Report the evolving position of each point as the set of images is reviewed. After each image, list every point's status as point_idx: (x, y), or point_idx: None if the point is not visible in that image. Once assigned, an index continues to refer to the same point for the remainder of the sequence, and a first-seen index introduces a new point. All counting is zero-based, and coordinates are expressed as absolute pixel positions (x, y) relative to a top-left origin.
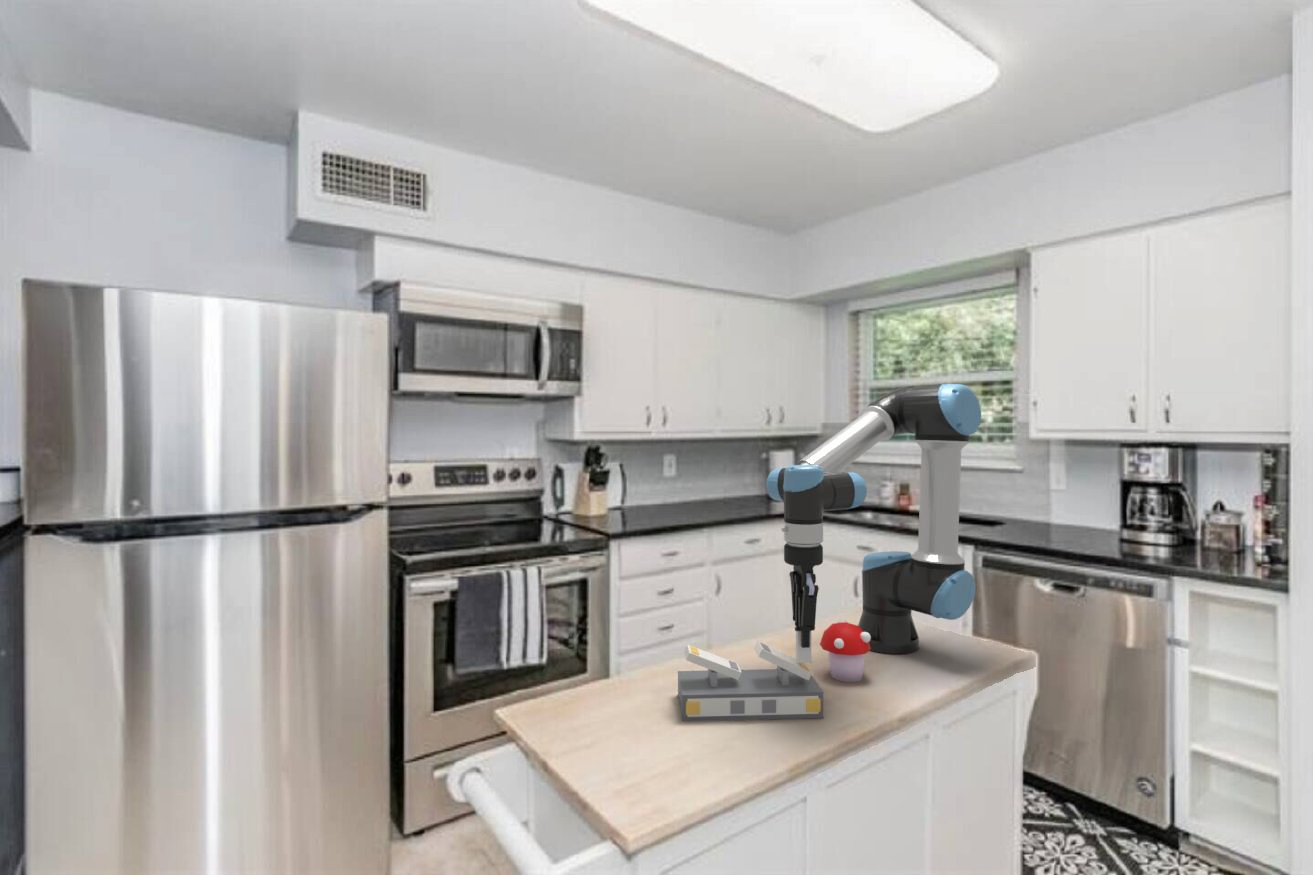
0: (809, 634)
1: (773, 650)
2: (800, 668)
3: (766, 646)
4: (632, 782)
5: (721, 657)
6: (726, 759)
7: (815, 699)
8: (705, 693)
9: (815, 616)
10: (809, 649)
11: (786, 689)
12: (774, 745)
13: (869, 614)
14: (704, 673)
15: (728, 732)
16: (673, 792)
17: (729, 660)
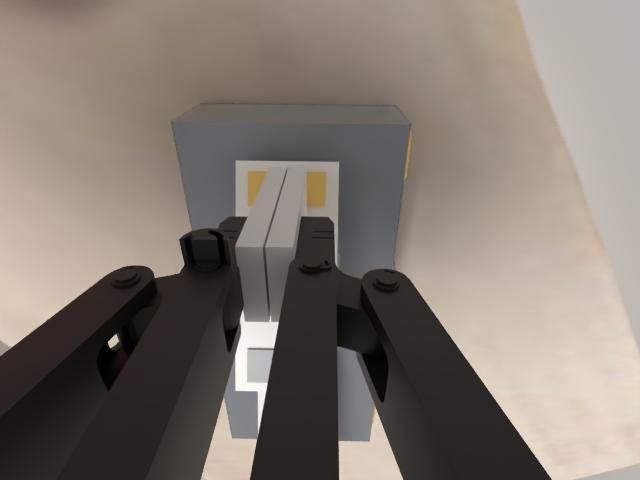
0: (333, 258)
1: (265, 324)
2: (337, 215)
3: (267, 359)
4: (544, 450)
5: (259, 421)
6: (529, 348)
7: (409, 150)
8: (366, 408)
9: (469, 365)
10: (302, 201)
11: (369, 240)
12: (508, 263)
13: None
14: (244, 399)
15: None
16: (594, 415)
17: (258, 397)
